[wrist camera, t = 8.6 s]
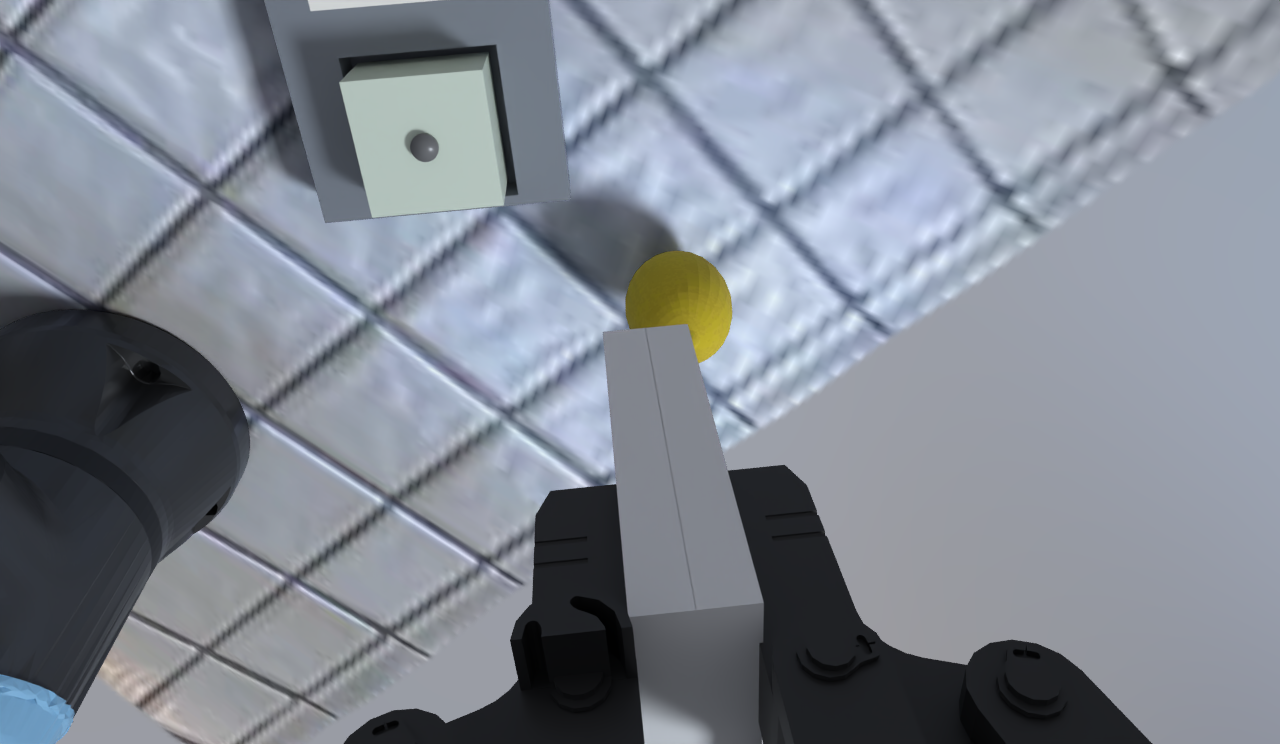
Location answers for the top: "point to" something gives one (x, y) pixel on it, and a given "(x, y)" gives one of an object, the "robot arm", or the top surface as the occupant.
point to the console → (455, 24)
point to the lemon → (681, 299)
